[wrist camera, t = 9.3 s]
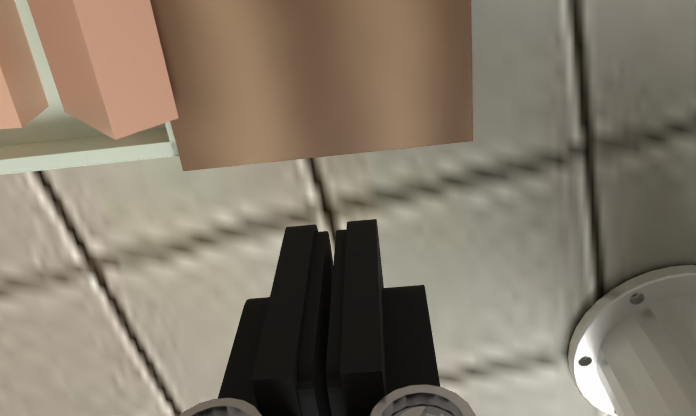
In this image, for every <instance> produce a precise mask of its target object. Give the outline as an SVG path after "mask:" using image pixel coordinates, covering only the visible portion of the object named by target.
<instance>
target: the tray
mask: <svg viewBox="0 0 696 416" xmlns="http://www.w3.org/2000/svg"><path fill="white" fill-rule="evenodd" d="M14 1H15V4H16V7H17V10H18V13H19V16H20V19H21V22H22V25H23V28H24V31H25V34H26V37H27V41H28V44H29V47H30V50H31V53H32V56H33V59H34V62H35V65H36V68H37V71H38V74H39V77H40V80H41V83H42V86H43V90H44V93H45V96H46V99H47V102H48V105H49V107H48V108H46V109H45V110H44V111H42V112H41V113H40V114H39V115H37V116H36V117H35V118H34V119H32V120H31V121H30V122H29V123H27V124H26V125H25V126H24V127H22V128H11V129H0V175H2V174H12V173H21V172H31V171H40V170H50V169H59V168H69V167H78V166H88V165H97V164H106V163H116V162H125V161H135V160H144V159H154V158H163V157H173V156H179V153H178V149H177V145H176V141H175V138H174V134H173V130H172V127H171V123H170V121H169V122H166V123H163V124H160V125H157V126H154V127H151V128H149V129H146V130H143V131H140V132H137V133H134V134H131V135H128V136H125V137H122V138H119V139H116V140H114V139H112V138H111V137H109V136H107V135H105V134H103V133H102V132H100V131H98V130H96V129H94V128H93V127H91V126H89V125H87V124H85V123H84V122H82V121H80V120H78V119H76V118H75V117H73V116H71V115H69V114H68V113H66V112H64V109H63V106H62V103H61V100H60V97H59V94H58V91H57V88H56V85H55V82H54V79H53V76H52V73H51V70H50V67H49V64H48V61H47V58H46V55H45V52H44V50H43V47H42V44H41V41H40V38H39V35H38V32H37V29H36V26H35V23H34V20H33V17H32V14H31V11H30V8H29V5H28V2H27V0H14Z"/></svg>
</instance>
